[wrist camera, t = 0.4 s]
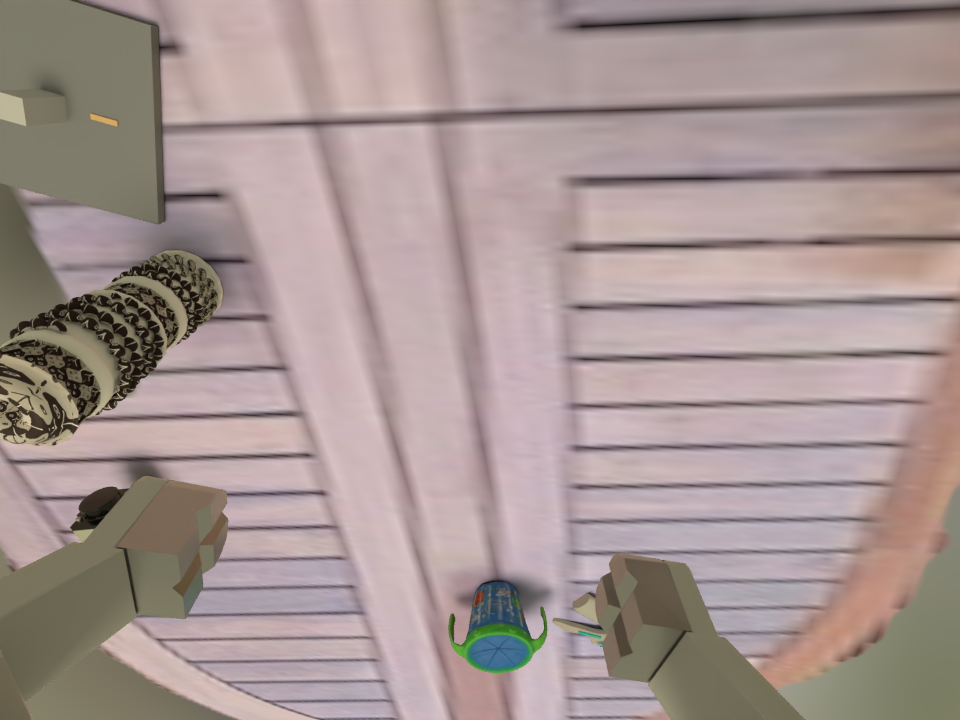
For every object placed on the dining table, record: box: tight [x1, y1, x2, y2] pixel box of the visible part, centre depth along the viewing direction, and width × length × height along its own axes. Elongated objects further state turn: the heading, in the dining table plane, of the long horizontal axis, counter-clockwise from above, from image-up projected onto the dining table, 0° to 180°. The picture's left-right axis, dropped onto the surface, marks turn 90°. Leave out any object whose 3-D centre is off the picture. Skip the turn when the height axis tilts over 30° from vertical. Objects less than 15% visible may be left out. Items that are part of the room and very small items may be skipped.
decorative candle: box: [0, 250, 224, 445], centre depth 46 cm, size 9×9×25 cm
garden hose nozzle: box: [553, 593, 607, 647], centre depth 85 cm, size 7×18×20 cm
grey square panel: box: [0, 0, 165, 224], centre depth 45 cm, size 18×18×6 cm
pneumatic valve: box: [70, 483, 134, 543], centre depth 67 cm, size 6×12×12 cm, turn 8°
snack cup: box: [448, 582, 547, 673], centre depth 80 cm, size 16×10×10 cm
